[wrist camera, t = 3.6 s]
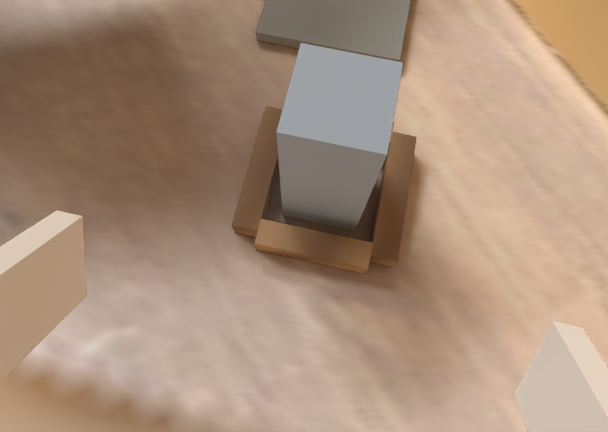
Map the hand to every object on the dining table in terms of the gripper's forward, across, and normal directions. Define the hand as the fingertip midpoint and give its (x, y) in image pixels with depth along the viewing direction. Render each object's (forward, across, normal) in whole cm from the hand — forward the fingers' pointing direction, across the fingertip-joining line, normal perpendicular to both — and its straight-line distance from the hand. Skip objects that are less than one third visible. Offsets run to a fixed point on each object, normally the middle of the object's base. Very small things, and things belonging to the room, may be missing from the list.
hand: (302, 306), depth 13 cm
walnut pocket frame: (+16, 0, -3) cm, 16 cm away
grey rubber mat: (+26, -2, +8) cm, 28 cm away
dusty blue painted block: (+16, 0, -3) cm, 16 cm away
